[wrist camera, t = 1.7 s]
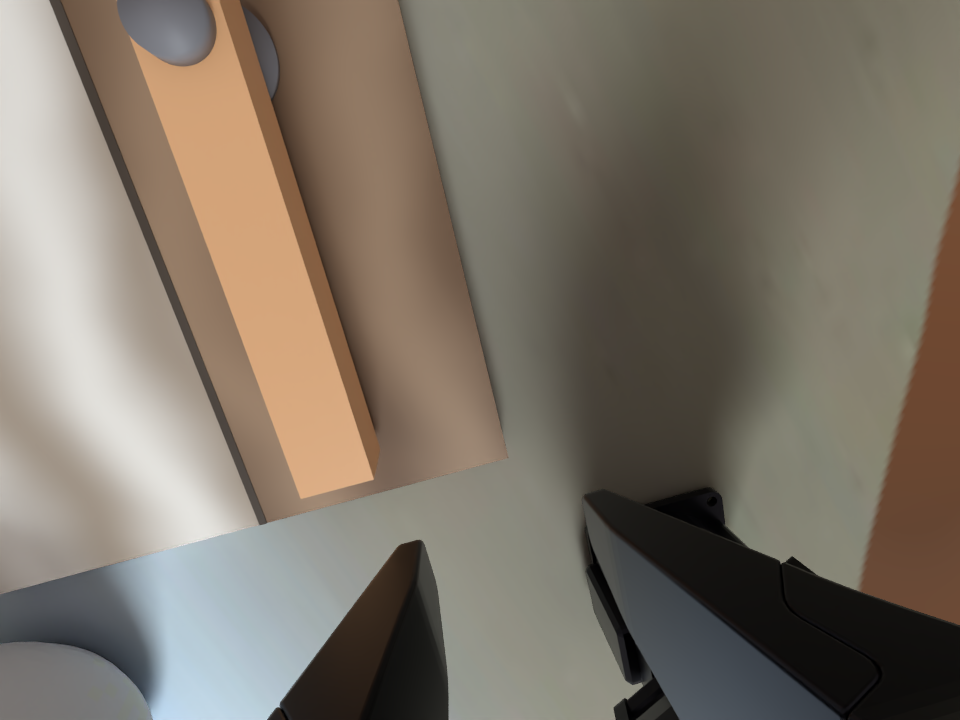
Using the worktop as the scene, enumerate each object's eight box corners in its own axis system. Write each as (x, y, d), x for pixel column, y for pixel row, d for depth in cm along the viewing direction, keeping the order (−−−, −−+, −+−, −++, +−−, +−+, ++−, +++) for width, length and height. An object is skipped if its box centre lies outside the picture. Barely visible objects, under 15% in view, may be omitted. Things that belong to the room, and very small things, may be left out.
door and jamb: (347, -200, 16) (317, -366, 12) (502, 443, 22) (522, 494, 17) (-374, -57, 15) (-707, -181, 10) (-6, 579, 21) (-122, 669, 16)
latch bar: (156, 13, 15) (83, -49, 12) (238, -5, 15) (188, -71, 12) (316, 466, 19) (294, 511, 16) (380, 449, 19) (371, 491, 16)
